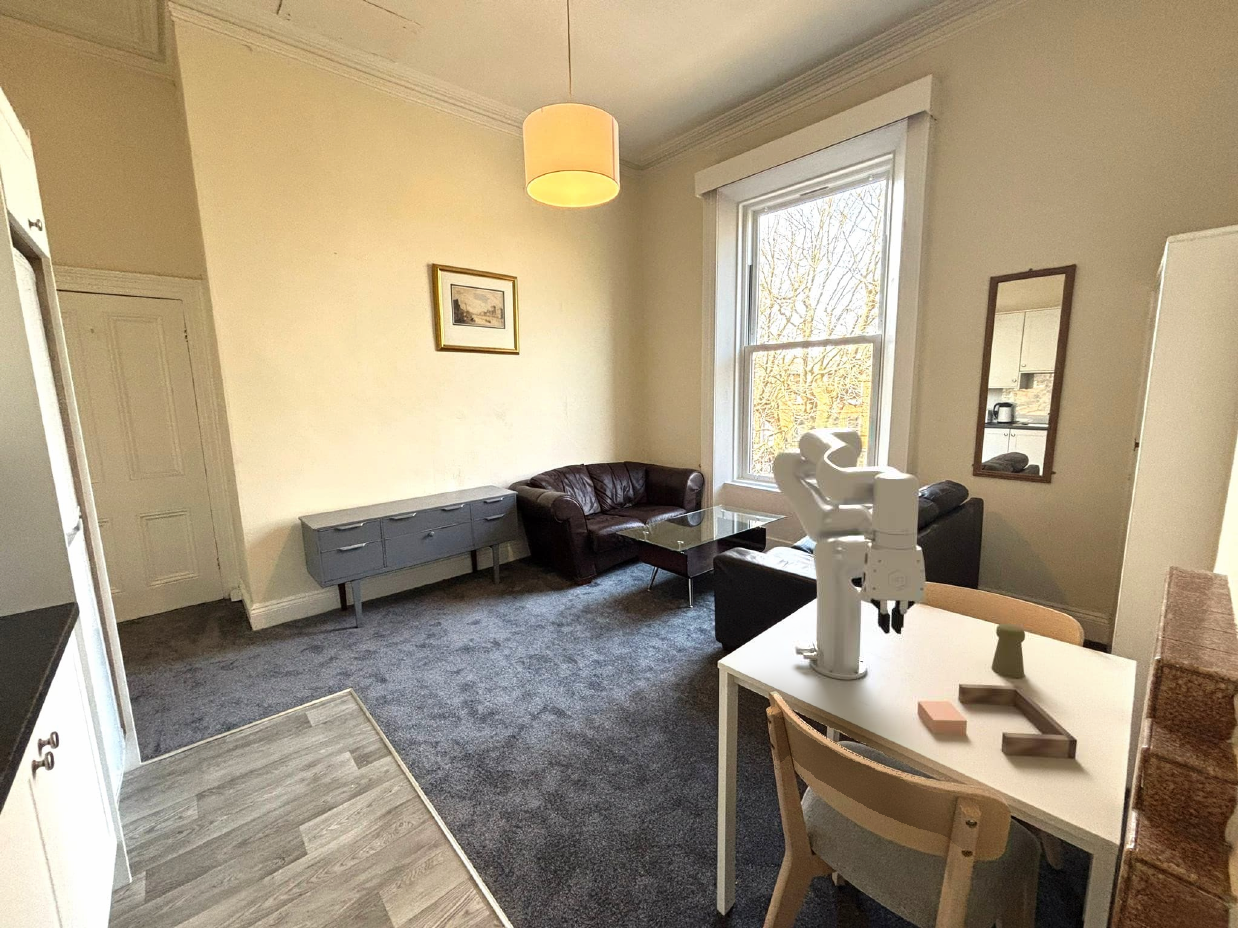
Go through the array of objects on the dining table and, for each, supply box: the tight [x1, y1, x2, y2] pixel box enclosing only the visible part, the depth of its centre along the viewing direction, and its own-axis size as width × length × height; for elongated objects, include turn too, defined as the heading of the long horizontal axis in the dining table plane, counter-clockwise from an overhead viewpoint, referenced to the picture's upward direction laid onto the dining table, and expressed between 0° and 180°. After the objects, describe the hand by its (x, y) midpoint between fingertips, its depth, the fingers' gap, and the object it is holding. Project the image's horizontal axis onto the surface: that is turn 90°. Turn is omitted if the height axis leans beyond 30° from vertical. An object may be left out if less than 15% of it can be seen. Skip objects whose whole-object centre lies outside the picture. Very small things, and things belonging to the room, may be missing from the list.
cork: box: [991, 622, 1026, 680], centre depth 116 cm, size 6×6×11 cm
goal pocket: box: [957, 683, 1078, 759], centre depth 98 cm, size 11×16×4 cm
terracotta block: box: [917, 700, 968, 735], centre depth 100 cm, size 6×6×3 cm
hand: (890, 630), depth 99 cm, fingers closed
